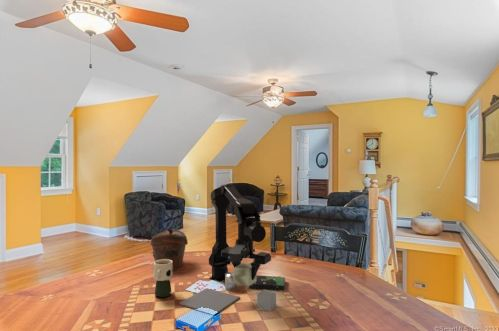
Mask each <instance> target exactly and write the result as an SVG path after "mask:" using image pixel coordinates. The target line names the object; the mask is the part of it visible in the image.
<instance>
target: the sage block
mask: <svg viewBox="0 0 499 331" xmlns="http://www.w3.org/2000/svg"><path fill="white" fill-rule="evenodd" d="M233 269H234V270H233V272H234V284H237V285H239V286H244V287H248V288H249V286H250V285H252V284H253V283H255V282H256V277H257V276H258V275H257V273H258V272H257V273H256V276H255V278H254V280H252V277H251V274H252V266H251V264H250V263H247V262H246V263H245V262H241V264H240V265H238V266H236V267H234V266H233Z"/></svg>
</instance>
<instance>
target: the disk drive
mask: <svg viewBox="0 0 499 331" xmlns="http://www.w3.org/2000/svg"><path fill="white" fill-rule="evenodd" d="M285 288H286V277H283V276H273V275H272V276H271V275H257V277H256V282H255V283H253V284H252V285H250V286H249V287H248V289H249V290H258V291H259V290H260V291H262V290H264V289H265V290H269V291H274V292H276V291H277V292H279V291H280V292H285Z"/></svg>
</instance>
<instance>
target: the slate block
mask: <svg viewBox="0 0 499 331" xmlns="http://www.w3.org/2000/svg"><path fill="white" fill-rule="evenodd" d="M256 295H257V296H256V299H257V301H256V304H257V305H256V306H257V307H256V308H257V309H260V310H264V311H267V312H271V311H272V310H273V309H274V308H276V306H277V292H276V291H275V290H265V289H264V290H260V291H259V292H257V294H256Z"/></svg>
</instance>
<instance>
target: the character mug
mask: <svg viewBox="0 0 499 331" xmlns="http://www.w3.org/2000/svg"><path fill="white" fill-rule="evenodd" d="M173 270H174V269H173V261H172V260H168V259H162V260H157V261H155V260H154V262H153V279H154V280H155V288H154V295H155V296H156V297H160V298H164V297H165V298H166V297H169V296H171V293H172V285H171V279H173V275H174V274H173Z"/></svg>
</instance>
